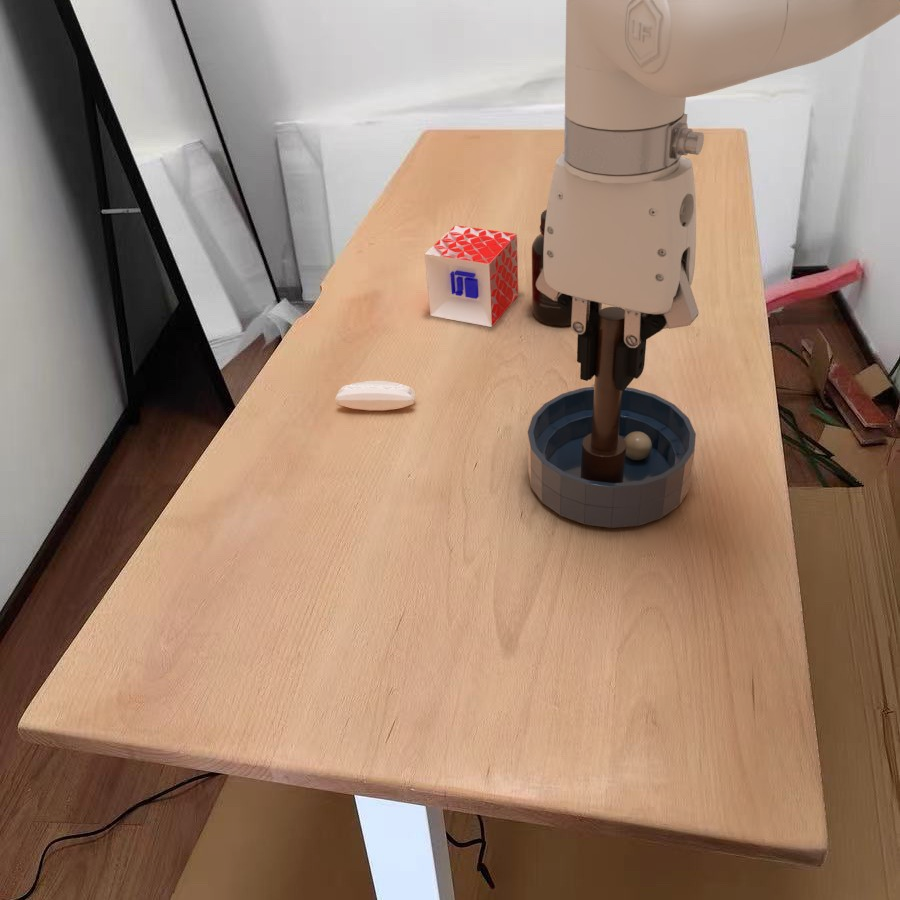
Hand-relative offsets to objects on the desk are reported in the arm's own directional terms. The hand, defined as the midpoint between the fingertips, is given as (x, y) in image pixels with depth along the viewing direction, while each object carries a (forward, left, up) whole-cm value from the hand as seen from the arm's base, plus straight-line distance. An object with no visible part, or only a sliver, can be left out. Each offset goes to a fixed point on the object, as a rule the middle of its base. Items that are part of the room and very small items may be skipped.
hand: (609, 375), depth 68 cm
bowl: (+1, -2, -12) cm, 12 cm away
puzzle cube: (+28, -23, -12) cm, 38 cm away
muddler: (0, 0, -11) cm, 11 cm away
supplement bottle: (+18, -26, -12) cm, 34 cm away
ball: (-1, -5, -10) cm, 12 cm away
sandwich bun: (+26, -1, -12) cm, 28 cm away
